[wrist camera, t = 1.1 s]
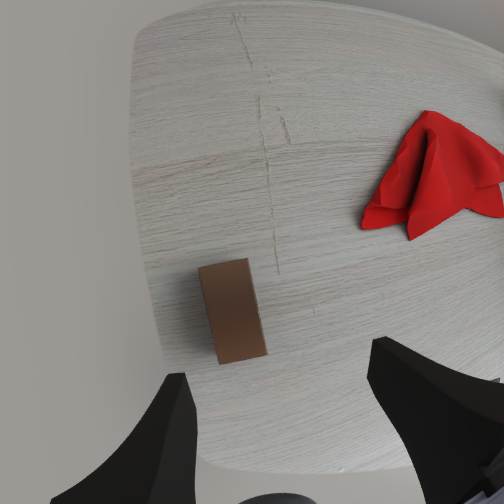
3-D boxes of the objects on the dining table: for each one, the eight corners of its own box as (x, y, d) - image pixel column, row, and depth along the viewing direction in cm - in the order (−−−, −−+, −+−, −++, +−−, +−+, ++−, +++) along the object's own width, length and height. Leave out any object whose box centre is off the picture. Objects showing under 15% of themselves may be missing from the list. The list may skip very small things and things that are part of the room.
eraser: (262, 345, 23) (267, 354, 20) (219, 354, 23) (219, 365, 20) (244, 260, 24) (247, 257, 21) (201, 268, 23) (197, 267, 20)
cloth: (489, 121, 28) (499, 115, 26) (517, 218, 27) (529, 215, 25) (328, 107, 26) (336, 95, 23) (363, 249, 25) (375, 247, 23)
